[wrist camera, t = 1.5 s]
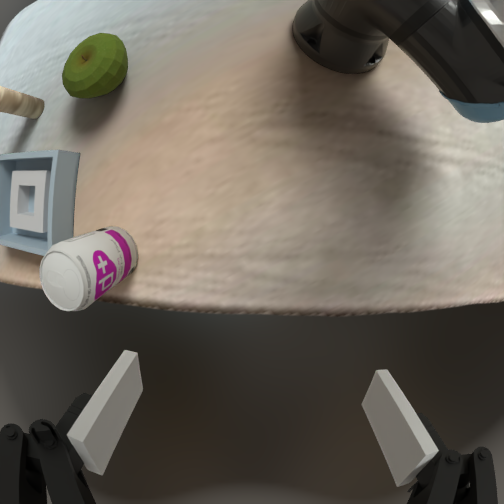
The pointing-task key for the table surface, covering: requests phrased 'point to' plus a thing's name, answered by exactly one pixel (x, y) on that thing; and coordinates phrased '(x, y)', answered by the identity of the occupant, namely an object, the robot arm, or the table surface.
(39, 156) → the crate
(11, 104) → the peg
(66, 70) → the apple
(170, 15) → the table surface
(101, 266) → the supplement can
